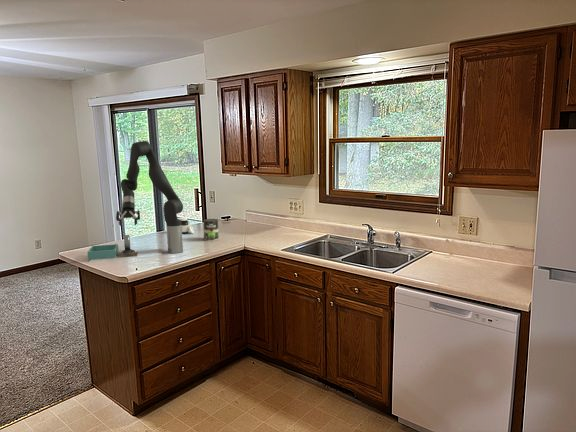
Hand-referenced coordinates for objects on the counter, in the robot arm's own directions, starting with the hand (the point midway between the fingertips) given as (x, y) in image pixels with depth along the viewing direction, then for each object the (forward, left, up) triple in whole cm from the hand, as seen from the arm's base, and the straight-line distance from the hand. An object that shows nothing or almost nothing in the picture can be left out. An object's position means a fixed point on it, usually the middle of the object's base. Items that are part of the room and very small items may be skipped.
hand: (128, 225), depth 270 cm
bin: (+14, +9, -17) cm, 24 cm away
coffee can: (-53, -21, -18) cm, 60 cm away
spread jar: (-36, -48, -18) cm, 62 cm away
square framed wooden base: (0, +11, -17) cm, 21 cm away
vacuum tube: (0, +11, -16) cm, 20 cm away
